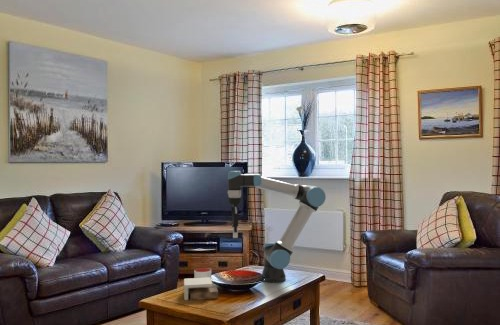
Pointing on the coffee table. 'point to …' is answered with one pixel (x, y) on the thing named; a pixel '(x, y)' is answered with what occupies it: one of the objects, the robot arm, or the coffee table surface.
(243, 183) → the robot arm
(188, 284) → the shelf
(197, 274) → the cup
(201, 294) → the board
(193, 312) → the coffee table surface
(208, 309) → the coffee table surface
